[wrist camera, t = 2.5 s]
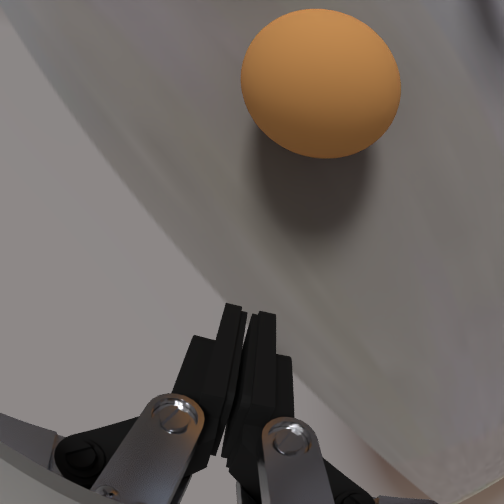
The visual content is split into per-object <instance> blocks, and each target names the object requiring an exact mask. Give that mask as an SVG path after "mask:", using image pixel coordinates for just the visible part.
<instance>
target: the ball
mask: <svg viewBox="0 0 504 504" xmlns="http://www.w3.org/2000/svg"><path fill="white" fill-rule="evenodd" d="M241 88H242V94H243V98H244V101H245V104H246V106H247V109H248V111H249V113H250V115H251V117H252V118H253V120H254V121H255V123H256V124H257V125H258V127H259V128H260V129H261V130H262V131H263V132H264V133H265V134H266V135H267V136H268V137H269V138H270V139H272V140H273V141H274V142H275V143H277V144H279V145H280V146H282V147H283V148H285V149H288V150H290V151H292V152H294V153H297V154H300V155H303V156H308V157H312V158H323V159H324V158H339V157H345V156H348V155H352V154H355V153H357V152H359V151H362V150H364V149H365V148H367V147H369V146H370V145H372V144H373V143H374V142H375V141H377V140H378V139H379V138H380V137H381V136H382V135H383V134H384V133H385V132H386V131H387V129H388V128H389V126H390V125H391V123H392V122H393V119H394V117H395V115H396V113H397V109H398V106H399V102H400V96H401V82H400V75H399V71H398V67H397V64H396V62H395V59H394V57H393V55H392V53H391V51H390V50H389V48H388V46H387V45H386V44H385V42H384V41H383V40H382V39H381V38H380V36H379V35H378V34H377V33H376V32H375V31H373V30H372V29H371V28H370V27H369V26H367V25H366V24H364V23H363V22H361V21H359V20H358V19H356V18H354V17H352V16H349V15H346V14H344V13H341V12H337V11H333V10H325V9H305V10H299V11H295V12H291V13H288V14H286V15H283V16H281V17H279V18H277V19H276V20H274V21H272V22H271V23H270V24H268V25H267V26H266V27H264V28H263V29H262V30H261V31H260V32H259V33H258V34H257V35H256V37H255V38H254V39H253V41H252V42H251V44H250V46H249V48H248V50H247V52H246V54H245V57H244V60H243V64H242V69H241Z"/></svg>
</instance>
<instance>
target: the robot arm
mask: <svg viewBox="0 0 504 504" xmlns="http://www.w3.org/2000/svg"><path fill="white" fill-rule="evenodd" d="M241 310H242V307H241V306H237V305H233V304H229V303H226V305H225V308H224V312H223V315H222V319H221V322H220V326H219V330H218V334H217V337H216V340H211V339H208V338H204V337H200V336H196V335H194V336H193V338H192V340H191V343H190V345H189V348H188V350H187V353H186V356H185V358H184V361H183V364H182V367H181V369H180V372H179V374H178V377H177V380H176V383H175V385H174V388H173V391H172V393H171V394H169V393H168V394H162V395H159V396H157V397H155V398H153V399H152V400H151V401H150V402H149V403H148V404H147V406H146V407H145V409H144V410H143V412H142V413H141V414H140V416H139V417H135V418H132V419H129V420H126V421H122V422H119V423H116V424H112V425H108V426H105V427H102V428H98V429H94V430H90V431H86V432H82V433H78V434H74V435H71V436H68V437H63V436H60V435H57V433H56V432H55V431H52V430H48V429H45V428H42V427H39V426H35V425H32V424H29V423H26V422H23V421H21V420H18V419H15V418H12V417H10V416H7V415H5V414H2V413H0V504H180V502H181V499H182V497H183V495H184V493H185V491H186V488H187V486H188V484H189V482H190V479H191V477H192V474H194V473H196V472H198V471H200V470H202V469H204V468H206V467H207V464H208V461H209V458H210V455H213V456H216V453H217V450H218V447H219V444H220V441H221V438H222V435H223V432H224V429H225V426H226V429H225V435H224V442H223V447H222V454H221V457H223V458H227V465H226V467H228V468H229V473H230V474H231V475H232V476H233V477H234V478H235V479H236V480H237V482H236V492H237V504H438V503H437V502H435V501H433V500H427V499H410V498H398V497H389V496H378V497H377V498H375V497H371V496H370V495H369V494H368V493H367V492H366V491H365V490H363V489H362V488H361V487H359V486H358V485H357V484H355V483H354V482H353V481H351V480H350V479H349V478H348V477H346V476H345V475H344V474H343V473H341V472H340V471H339V470H337V469H336V468H335V467H334V466H332V465H331V464H330V463H329V462H328V461H326V460H325V459H324V458H323V457H322V454H321V450H320V447H319V443H318V439H317V436H316V435H315V432H314V431H313V430H312V428H311V427H310V426H309V425H307V424H306V423H304V422H303V421H301V420H298V419H296V418H294V396H293V375H292V360H291V357H290V356H284V355H279V354H276V314H272V313H267V312H263V311H259V313H258V315H257V314H252V316H251V319H250V323H249V327H248V330H247V334H246V337H245V341H244V344H243V338H244V332H245V325H246V319H247V312H244V311H241ZM242 345H243V348H242Z"/></svg>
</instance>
